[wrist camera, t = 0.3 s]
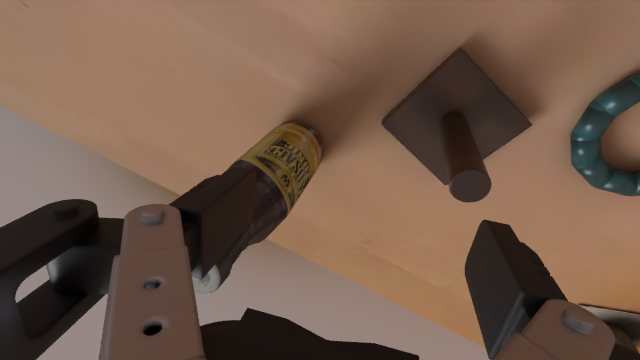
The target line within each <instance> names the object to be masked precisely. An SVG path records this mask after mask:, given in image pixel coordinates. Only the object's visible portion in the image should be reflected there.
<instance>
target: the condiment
mask: <svg viewBox="0 0 640 360" xmlns="http://www.w3.org/2000/svg"><path fill="white" fill-rule="evenodd" d="M579 306H580V305H579ZM581 307H583V308H585V309H586V310H588V311H590V312H591V313H593V314H594V315H596V316H597V317H598V318H600V319H601V320H602V321H603V322H604V323H605V324H606V325H607V326H608V327H609V328H610V329H611V331H612V332H613V334H614V336H615V343H617V344H619V345H621V346H623V347H625V348H628V349H630V350H632V351H634V352H637V353H639V352H638V350H637V349H636V347H635V346H636V344H637V343H638V342H639V340H640V315H639V314H634V313H628V312H623V311H616V310H610V309H601V308H596V307H587V306H581Z"/></svg>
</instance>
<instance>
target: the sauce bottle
mask: <svg viewBox="0 0 640 360" xmlns="http://www.w3.org/2000/svg"><path fill="white" fill-rule="evenodd" d="M322 156H323V149H322V142H321V140H320V138H319V135H318V134H317V133H316V132H315V131H314V130H313V129H311V128H310V127H309V126H307V125H305V124H304V123H300V122H288V123H283V124H281V125H279V126H277V127H276V128H274V129H273V130H272V131H271V132H269V133H268V134H267V135H266V136H265V137H264V138H262V139H261V140H260V141H259V142H258V143H257V144H255V145H254V146H253V147H252V148H251V149H250V150H248V151H247V152H246V153H245V154H244V155H242V156H241V157H240V158H239V159H238V160H236V161H235V162H234V163H233V164H232V165H231V166H230V167H229V169H230V168H231V167H233V166H240V167H244V168H249V169H254V170H255V172H256V186H255V203H254V212H253V216H252V219H251V221H250V223H249V224H248V225H247V227H246V228H245V229H244V230H243V231H242V233H241V234H240V235H239V236H238V237H237V239H236V240H235V241H234V242H233V243H232V245H231V246H230V247H229V248H228V249H227V251H226V252H225V253H224V254H223V255H222V257H221V258H220V259H219V260H218V261H217V263H216V264H215V265H214V266H213V267H212V269H211V270H210V271H209V272H208V273H207V275H206V276H205V277H204V278H203V279H202V280H201V279H198V278H194V277H192V280H193V286H194V292H195V293H199V294H207V293H212V292H214V291H215V290H217V289H218V288H219V287H220V286H221V285H222V283H223V282H224V281H225V279H226V278H227V277H228V276H229V274H230V270H231V268H232V265H233V264H234V262H235V261H236V259H237V258H238V257H239V255H240V254H241V252H242V251H243V250H245V249H246V248H247V246H249V245H252V244H255V243H259V242H261V241H262V240H264V239H265V238H266V237H267V236H268V235H269V234H270V233H271V232H272V231H273V230H274V229H275V228H276V227H277V226H278V225H279V224H280V223H281V222H282V221H283V220H284V219H285V218H286V217H287V215H288V214H289V212H290V211H291V209H292V208H293V206H294V205H295V203H296V201H297V200H298V198H299V197H300V195H301V194H302V192H303V190H304V189H305V187H306V186H307V184H308V183H309V181H310V180H311V178H312V177H313V175H314V173H315V172H316V170H317V169H318V167H319V165H320V162H321V159H322ZM229 169H228V170H229ZM225 172H226V171H225ZM225 172H224V173H225Z"/></svg>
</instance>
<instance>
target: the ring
mask: <svg viewBox="0 0 640 360" xmlns="http://www.w3.org/2000/svg"><path fill="white" fill-rule="evenodd" d="M638 102H640V74H636V75H632V76H629V77H627V78H626V79H624V80H623V81H621V82H620V83H618V84H617V85H615V86H614V87H612V88H611V89H609V90H608V91H606V92H605V93H603V94H602V95H600V96H599V97H597V98H596V99H594V100H593V101H592V102H591V103H590V104H589V105H588V107H587V108H586V110H585V112H584V113H583V115H582V116H581V118H580V119H579V121H578V123H577V124H576V126H575V127H574V129H573V130H572V132H571V163H572V165H573V166H574V168H575V169H576V170H577V171H578V172H579V173H580V174H581V175H582V176H583V177H584V178H585V179H586V180H587V182H588V183H589V184H590V185H592V186H593V187H595V188H598V189H602V190H606V191H609V192H613V193H617V194H621V195H625V196H638V195H640V172H636V173H629V172H625V171H621V170H617V169H613V168H611V167H610V166H609V165H608V164H607V163H606V161H605V160H604V159H603V158H602V157H601V137H602V135H603V134H604V132H605V131H606V130H607V128H608V127H609V125H610V124H611V122H612V121H613V120H614V118H615V117H616V116H617V115H619V114H620V113H622V112H624V111H625V110H627V109H628V108H630V107H632V106H633V105H635V104H636V103H638Z"/></svg>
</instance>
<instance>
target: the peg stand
mask: <svg viewBox="0 0 640 360" xmlns="http://www.w3.org/2000/svg"><path fill="white" fill-rule="evenodd" d="M382 126H384V127H385V128H386V129H387V130H388V131H389V132H390V133H391V134H392V135H393V136H394V137H395V138H396V139H397V140H398V141H399V142H400V143H401V144H402V145H403V146H404V147H406V148H407V149H408V150H409V151H410V152H411V153H412V154H413V155H414V156H415V157H416V158H417V159H418V160H419V161H420V162H421V163H422V164H423V165H424V166H425V167H427V168H428V169H429V170H430V171H431V172H432V173H433V174H434V175H435V176H436V177H437V178H438V179H439V180H440V181H441V182H442V183H443V184H444V185H447V184H449V190H450V192H451V194H452V195H453V197H455V198H456V199H458V200H459V201H462V202H476V201H479V200H481V199H483V198H484V197H485V196H486V195H487V194H488V193H489V191H490V189H491V180H490V177H489V175H488V172H487V170H486V167H485V165H484V162H483V159H485V158H486V157H487V156H489V155H490V154H492V153H493V152H495V151H496V150H497V149H499V148H500V147H502V146H503V145H505V144H506V143H508V142H509V141H510V140H512V139H513V138H515V137H516V136H518V135H519V134H520V133H522V132H523V131H525V130H526V129H528V128H529V127H530V126H532V124H531V123H530V122H529V120H528V119H527V118H526V117H525V116H524V115H523V114H522V113H521V112H520V111H519V110H518V109H517V107H516V106H515V105H514V104H513V103H512V102H511V101H510V100H509V99H508V98H507V97H506V96H505V95H504V94H503V93H502V92H501V90H500V89H499V88H498V87H497V86H496V85H495V84H494V83H493V82H492V81H491V80H490V79H489V78H488V77H487V76H486V74H485V73H484V72H483V71H482V70H481V69H480V68H479V67H478V66H477V65H476V64H475V63H474V62H473V61H472V60H471V59H470V57H469V56H468V55H467V54H466V53H465V52H464V51H463V50H462V49H461V48H458V49H457V50H456V51H455V52H454V53H453V54H452V55H451V56H450V57H449V58H447V59H446V60H445V61H444V62H443V63H442V64H441V65H440V66H439V67H438V68H437V69H436V70H435V71H434V72H433V73H431V74H430V75H429V76H428V77H427V78H426V79H425V80H424V81H423V82H422V83H421V84H420V85H419V86H418V87H417V88H415V89H414V90H413V91H412V92H411V93H410V94H409V95H408V96H407V97H406V98H405V99H404V100H403V101H402V102H401V103H399V104H398V105H397V106H396V107H395V108H394V109H393V110H392V111H391V112H390V113H389V114H388V115H387V116H386V117H385V118H383V120H382Z"/></svg>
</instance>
